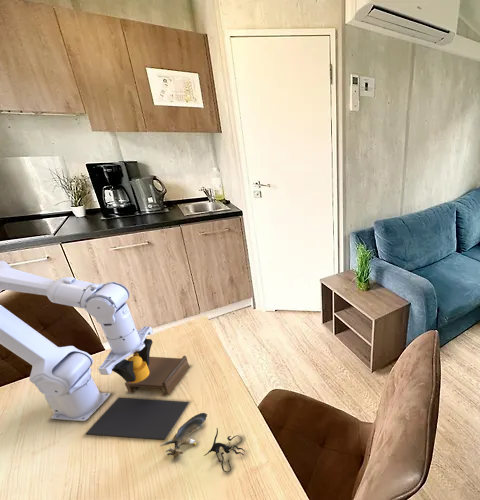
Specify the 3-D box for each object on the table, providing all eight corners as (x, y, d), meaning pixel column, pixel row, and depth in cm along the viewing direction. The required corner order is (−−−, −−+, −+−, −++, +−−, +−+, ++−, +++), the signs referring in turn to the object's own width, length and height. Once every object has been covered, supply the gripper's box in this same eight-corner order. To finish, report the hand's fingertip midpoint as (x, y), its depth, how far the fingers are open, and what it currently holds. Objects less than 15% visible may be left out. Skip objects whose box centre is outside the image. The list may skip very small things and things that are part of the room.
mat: (86, 434, 69) (85, 433, 69) (119, 398, 78) (118, 397, 78) (164, 440, 68) (164, 439, 68) (188, 402, 77) (188, 401, 77)
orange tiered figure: (125, 382, 72) (116, 363, 70) (137, 369, 76) (130, 350, 74) (141, 383, 72) (133, 363, 69) (153, 369, 76) (146, 350, 73)
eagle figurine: (197, 460, 63) (216, 417, 71) (170, 447, 60) (193, 404, 67) (176, 464, 66) (196, 423, 73) (150, 452, 63) (174, 410, 70)
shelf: (128, 392, 80) (123, 380, 78) (152, 364, 89) (148, 353, 87) (168, 394, 80) (164, 382, 78) (189, 367, 89) (186, 355, 87)
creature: (250, 440, 69) (217, 434, 69) (251, 426, 67) (218, 420, 67) (237, 476, 62) (201, 470, 62) (239, 462, 60) (201, 456, 60)
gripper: (112, 354, 61) (131, 398, 67) (157, 313, 75) (170, 352, 80) (81, 353, 62) (103, 396, 67) (131, 312, 75) (146, 351, 80)
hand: (138, 372), depth 74 cm, fingers closed on orange tiered figure, 4 cm apart
